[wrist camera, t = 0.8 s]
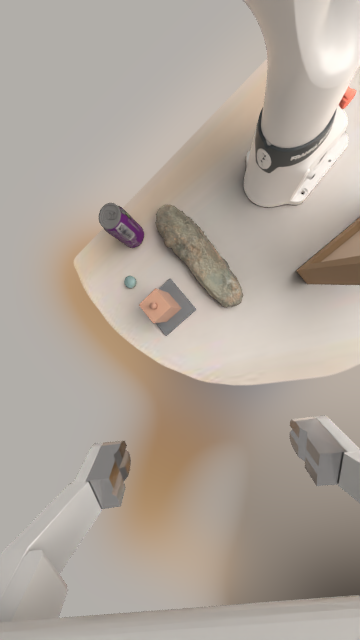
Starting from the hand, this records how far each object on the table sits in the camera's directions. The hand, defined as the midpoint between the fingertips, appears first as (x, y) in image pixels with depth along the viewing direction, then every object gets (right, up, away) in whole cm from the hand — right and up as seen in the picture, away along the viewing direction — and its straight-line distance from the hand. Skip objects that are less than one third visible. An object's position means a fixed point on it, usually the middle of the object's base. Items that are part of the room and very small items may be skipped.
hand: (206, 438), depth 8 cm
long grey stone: (+4, +24, +40) cm, 47 cm away
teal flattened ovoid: (-16, +18, +46) cm, 52 cm away
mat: (-5, +10, +43) cm, 44 cm away
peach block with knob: (-5, +10, +42) cm, 43 cm away
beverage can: (-15, +32, +45) cm, 57 cm away
